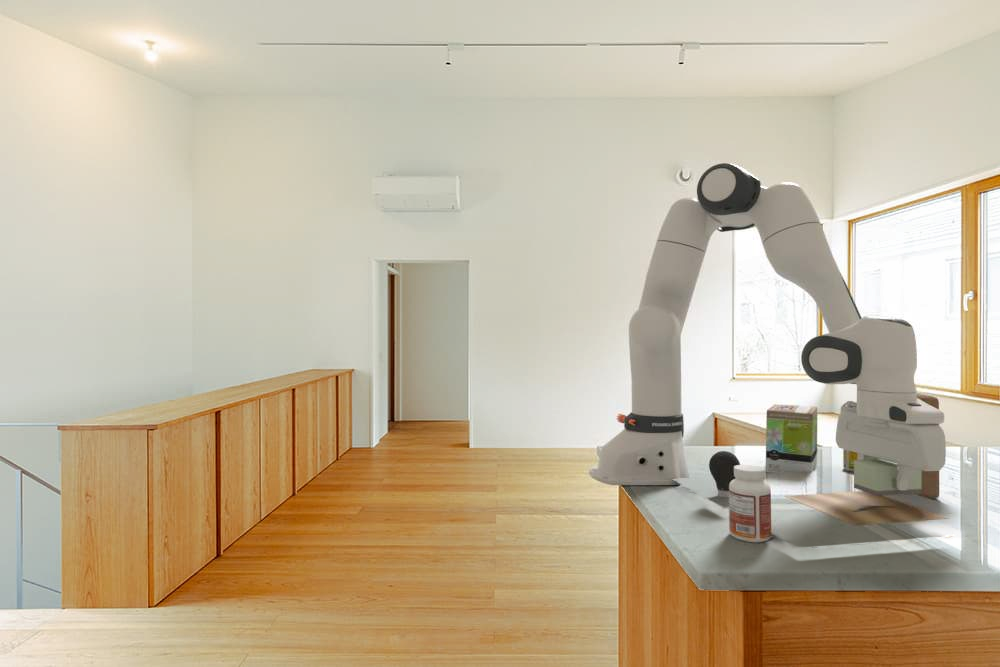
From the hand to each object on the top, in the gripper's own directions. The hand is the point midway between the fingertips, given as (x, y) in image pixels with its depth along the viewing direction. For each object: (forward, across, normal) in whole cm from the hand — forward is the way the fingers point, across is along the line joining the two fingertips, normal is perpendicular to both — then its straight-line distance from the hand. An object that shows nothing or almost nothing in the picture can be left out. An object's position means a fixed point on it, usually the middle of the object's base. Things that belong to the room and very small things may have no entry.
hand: (884, 484), depth 103 cm
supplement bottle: (+6, -30, +21) cm, 37 cm away
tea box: (+6, -34, +7) cm, 35 cm away
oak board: (+6, -1, -4) cm, 7 cm away
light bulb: (+6, -12, -24) cm, 27 cm away
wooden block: (+6, -12, +15) cm, 20 cm away
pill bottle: (+6, +6, -30) cm, 31 cm away
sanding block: (+1, 0, 0) cm, 1 cm away
